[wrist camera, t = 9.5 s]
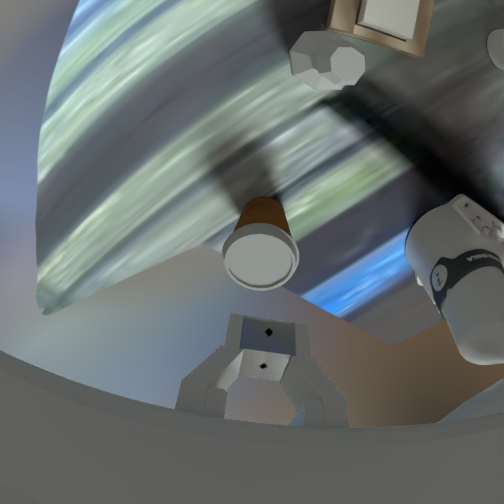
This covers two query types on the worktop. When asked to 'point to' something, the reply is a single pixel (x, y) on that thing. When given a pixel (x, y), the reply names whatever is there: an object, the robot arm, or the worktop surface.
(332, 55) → the faceted bottle
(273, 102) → the worktop surface
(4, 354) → the robot arm
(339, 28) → the oak key console
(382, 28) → the off-white key
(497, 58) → the cup
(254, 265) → the disposable coffee cup
